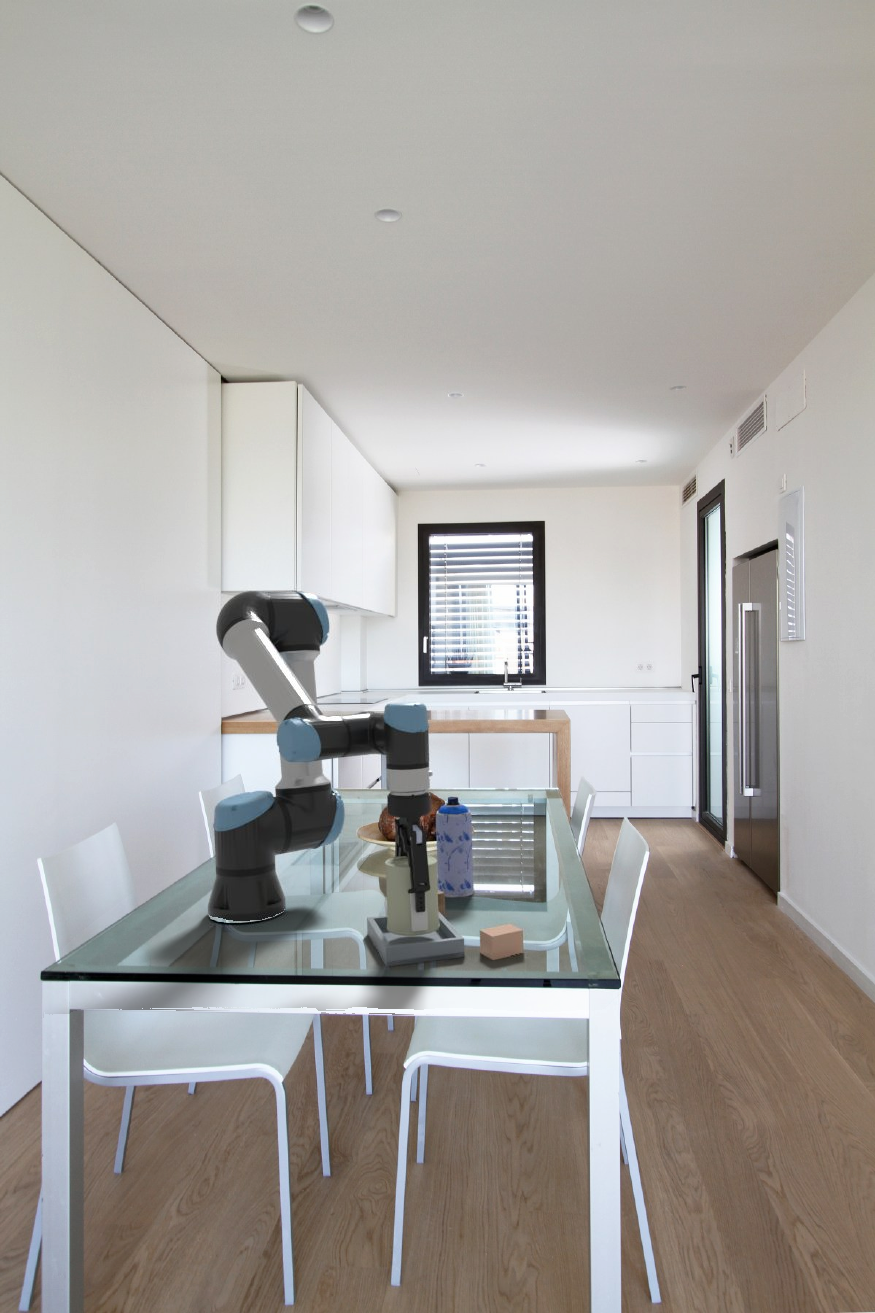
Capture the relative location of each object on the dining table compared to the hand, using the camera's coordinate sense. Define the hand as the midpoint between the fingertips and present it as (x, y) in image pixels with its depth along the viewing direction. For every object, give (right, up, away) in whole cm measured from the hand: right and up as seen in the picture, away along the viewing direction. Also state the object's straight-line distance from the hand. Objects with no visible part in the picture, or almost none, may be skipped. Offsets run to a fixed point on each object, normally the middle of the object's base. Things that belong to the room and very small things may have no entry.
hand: (413, 921), depth 148 cm
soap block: (+15, -4, -5) cm, 16 cm away
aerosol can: (+8, -4, +32) cm, 33 cm away
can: (0, -1, 0) cm, 1 cm away
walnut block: (+2, -4, +15) cm, 16 cm away
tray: (0, -4, 0) cm, 4 cm away
